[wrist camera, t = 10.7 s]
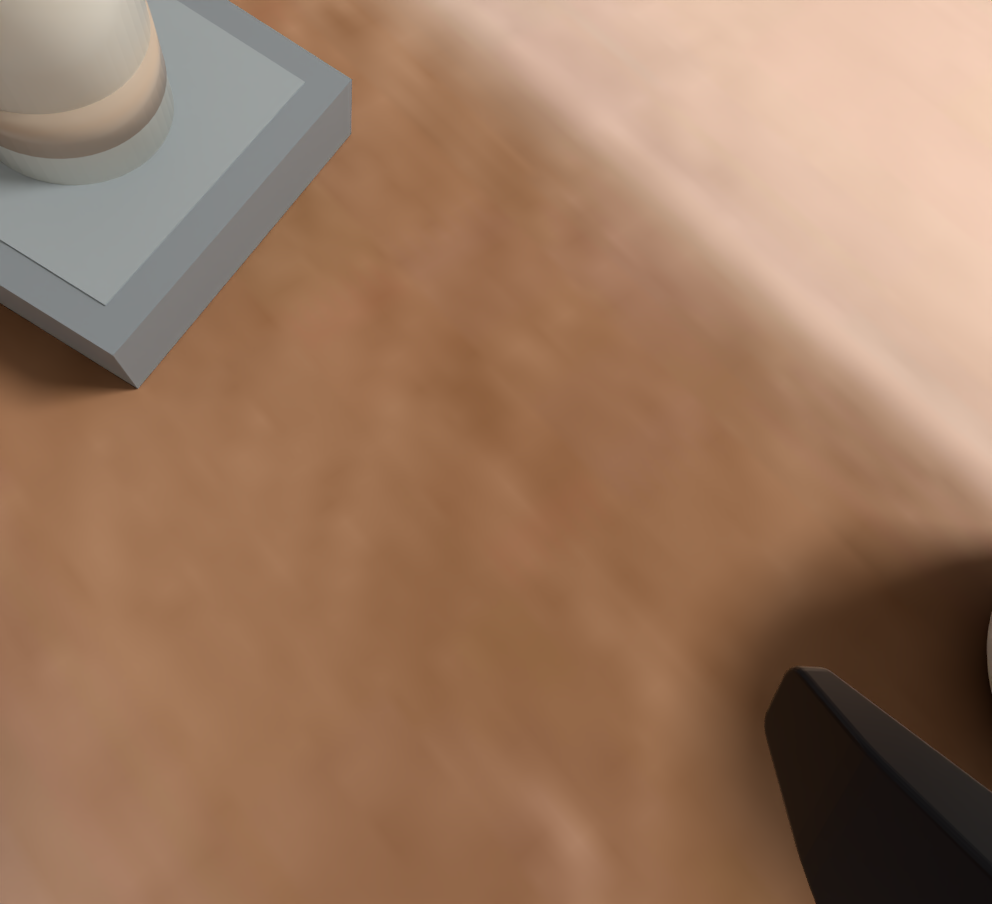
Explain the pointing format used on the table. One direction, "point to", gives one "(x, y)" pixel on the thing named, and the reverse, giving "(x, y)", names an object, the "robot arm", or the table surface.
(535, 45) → the table surface
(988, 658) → the teacup
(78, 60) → the white cylinder
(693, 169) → the table surface
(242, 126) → the base
